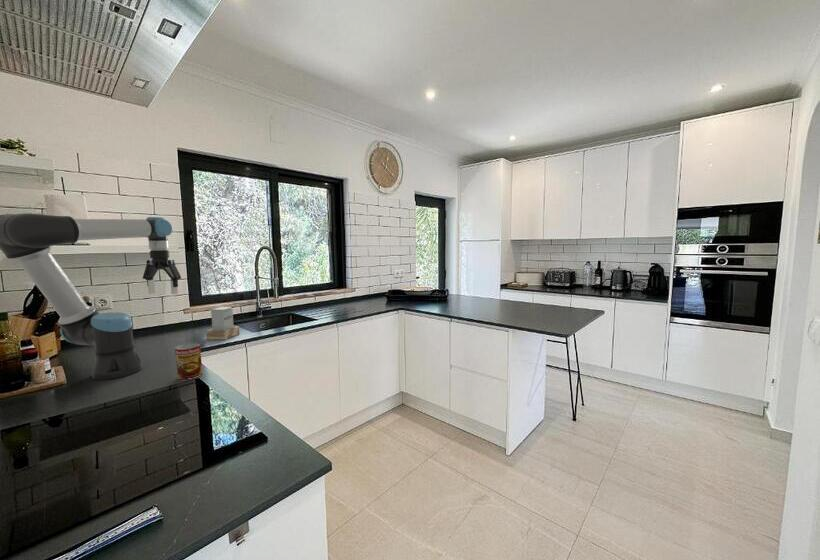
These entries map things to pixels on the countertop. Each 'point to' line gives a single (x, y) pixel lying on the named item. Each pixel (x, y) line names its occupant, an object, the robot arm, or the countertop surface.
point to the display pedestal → (222, 333)
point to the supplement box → (222, 318)
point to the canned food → (188, 360)
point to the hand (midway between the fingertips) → (163, 293)
